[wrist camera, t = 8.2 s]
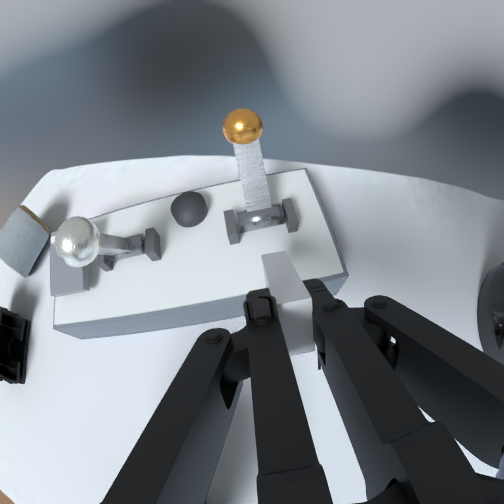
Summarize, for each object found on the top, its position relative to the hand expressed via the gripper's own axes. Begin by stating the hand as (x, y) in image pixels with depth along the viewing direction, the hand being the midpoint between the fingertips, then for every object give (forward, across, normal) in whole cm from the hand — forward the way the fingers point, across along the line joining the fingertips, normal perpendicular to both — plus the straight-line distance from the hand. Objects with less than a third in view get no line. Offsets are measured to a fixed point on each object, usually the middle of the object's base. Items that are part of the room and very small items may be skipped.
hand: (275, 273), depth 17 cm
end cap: (+6, -36, -8) cm, 37 cm away
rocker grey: (+6, -18, +2) cm, 19 cm away
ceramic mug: (+16, -34, +3) cm, 38 cm away
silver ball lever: (+6, -12, +2) cm, 14 cm away
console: (+11, -8, -2) cm, 14 cm away
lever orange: (+6, 0, +2) cm, 7 cm away
